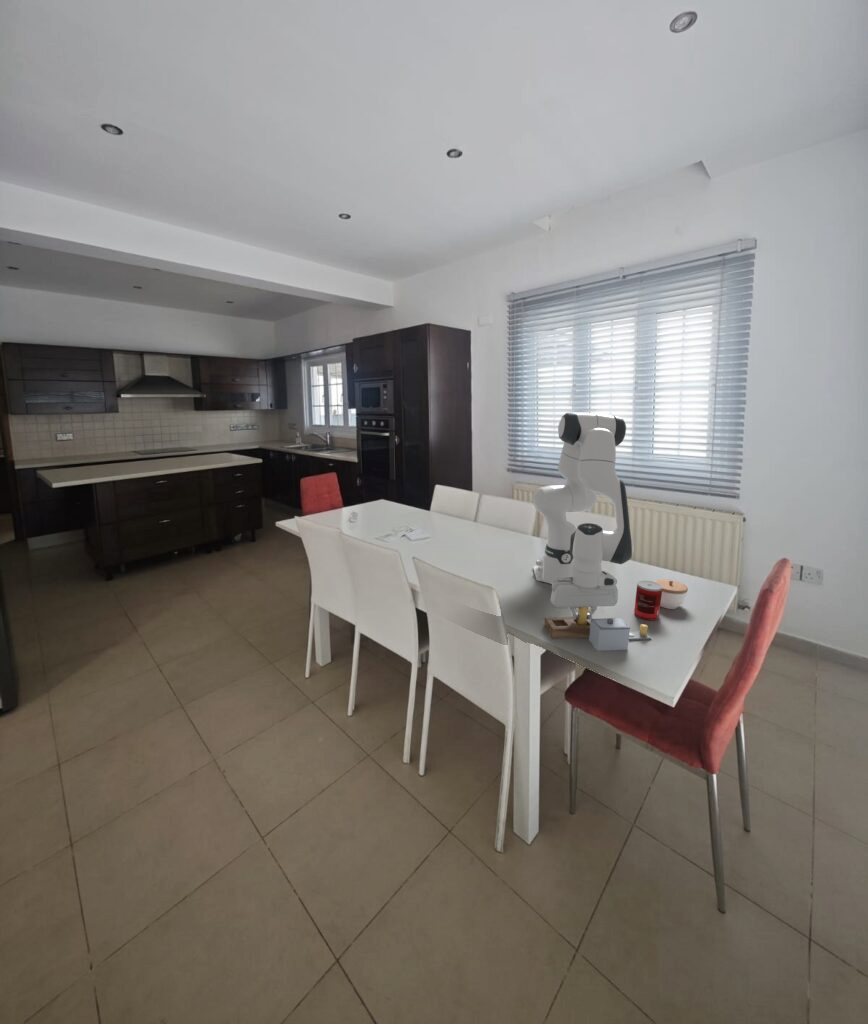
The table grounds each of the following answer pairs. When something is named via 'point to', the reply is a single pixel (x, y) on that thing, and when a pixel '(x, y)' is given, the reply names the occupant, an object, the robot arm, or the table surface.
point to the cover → (609, 634)
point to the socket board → (566, 627)
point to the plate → (637, 637)
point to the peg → (582, 615)
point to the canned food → (648, 600)
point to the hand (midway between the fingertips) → (582, 618)
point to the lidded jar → (672, 593)
